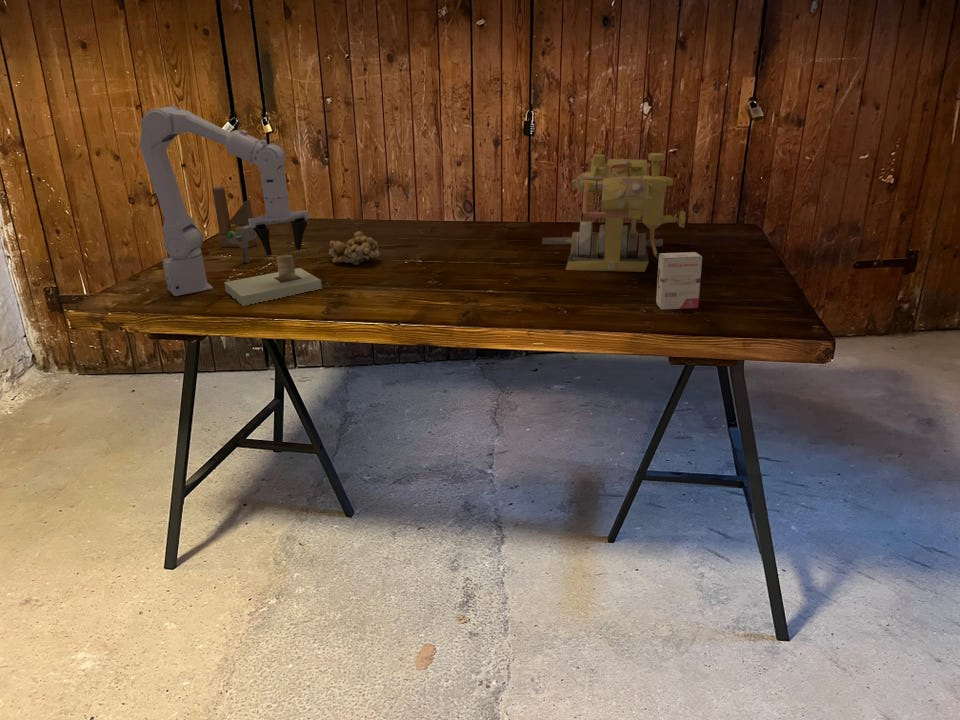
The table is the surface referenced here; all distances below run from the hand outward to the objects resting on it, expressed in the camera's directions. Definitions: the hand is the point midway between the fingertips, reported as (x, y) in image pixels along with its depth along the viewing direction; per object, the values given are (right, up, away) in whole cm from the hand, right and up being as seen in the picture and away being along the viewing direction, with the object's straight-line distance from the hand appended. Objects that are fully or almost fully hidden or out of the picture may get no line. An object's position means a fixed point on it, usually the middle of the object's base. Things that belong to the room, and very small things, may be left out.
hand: (283, 251), depth 179 cm
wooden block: (-26, +8, +45) cm, 53 cm away
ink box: (+93, -15, -17) cm, 96 cm away
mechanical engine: (+84, -1, +15) cm, 86 cm away
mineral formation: (+14, 0, +24) cm, 28 cm away
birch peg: (0, -9, +4) cm, 9 cm away
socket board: (-3, -10, +2) cm, 10 cm away
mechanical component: (-18, +1, +27) cm, 32 cm away
